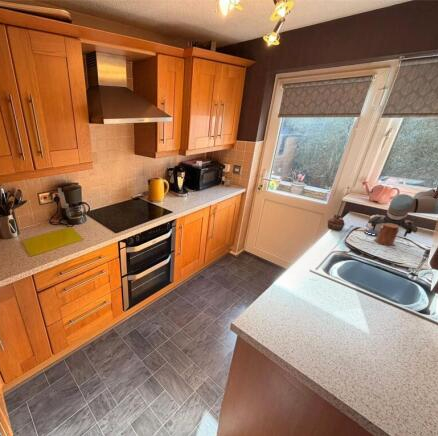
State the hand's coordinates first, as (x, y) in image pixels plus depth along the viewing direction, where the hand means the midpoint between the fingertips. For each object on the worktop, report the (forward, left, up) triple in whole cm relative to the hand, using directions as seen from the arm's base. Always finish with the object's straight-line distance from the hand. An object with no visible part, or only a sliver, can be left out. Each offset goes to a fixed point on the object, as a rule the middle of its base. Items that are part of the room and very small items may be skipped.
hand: (389, 231), depth 141 cm
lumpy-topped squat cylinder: (+21, -17, -8) cm, 28 cm away
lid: (+12, -4, -6) cm, 14 cm away
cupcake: (+22, +14, -8) cm, 27 cm away
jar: (0, 0, -8) cm, 8 cm away
